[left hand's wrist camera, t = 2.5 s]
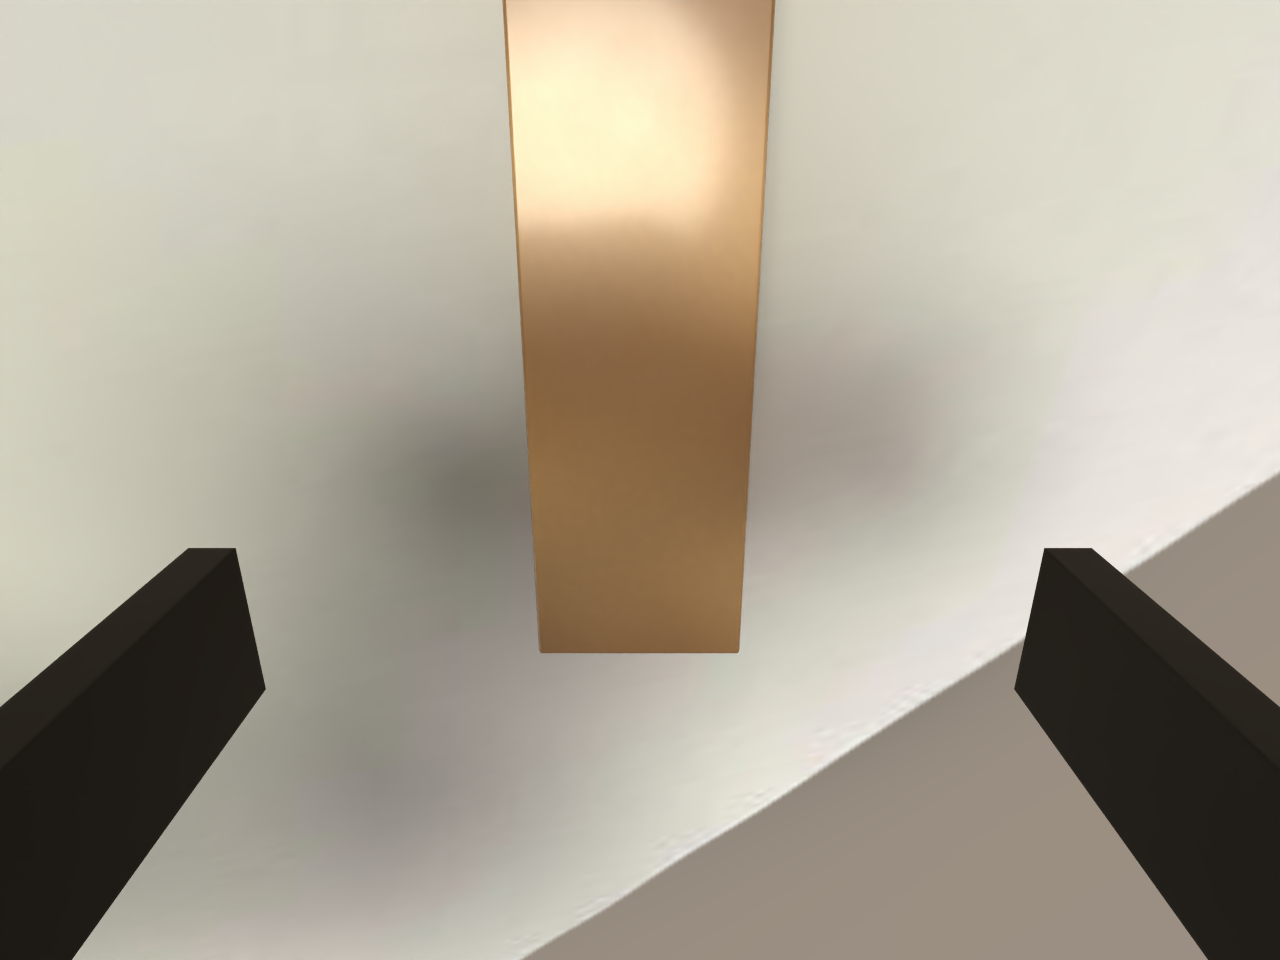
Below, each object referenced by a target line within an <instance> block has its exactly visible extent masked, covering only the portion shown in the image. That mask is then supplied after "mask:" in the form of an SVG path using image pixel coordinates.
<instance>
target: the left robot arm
mask: <svg viewBox="0 0 1280 960" xmlns="http://www.w3.org/2000/svg"><path fill="white" fill-rule="evenodd" d="M265 689H266V688H265V684H264V679H263V674H262V669H261V665H260V660H259V655H258V651H257V646H256V641H255V637H254V632H253V627H252V623H251V618H250V613H249V609H248V604H247V599H246V595H245V590H244V585H243V581H242V576H241V571H240V567H239V562H238V557H237V553H236V548H188V549H187V550H186V551H184V552H183V553H182V554H181V555H180V556H179V557H177V558H176V559H175V560H174V561H173V562H171V563H170V564H169V565H168V566H167V567H166V568H164V569H163V570H162V571H161V572H160V573H158V574H157V575H156V576H155V577H154V578H153V579H151V580H150V581H149V582H148V583H147V584H145V585H144V586H143V587H142V588H141V589H139V590H138V591H137V592H136V593H135V594H134V595H132V596H131V597H130V598H129V599H128V600H126V601H125V602H124V603H123V604H122V605H121V606H119V607H118V608H117V609H116V610H115V611H113V612H112V613H111V614H110V615H109V616H108V617H106V618H105V619H104V620H103V621H102V622H100V623H99V624H98V625H97V626H96V627H95V628H93V629H92V630H91V631H90V632H89V633H87V634H86V635H85V636H84V637H83V638H81V639H80V640H79V641H78V642H77V643H76V644H74V645H73V646H72V647H71V648H70V649H68V650H67V651H66V652H65V653H64V654H63V655H61V656H60V657H59V658H58V659H57V660H55V661H54V662H53V663H52V664H51V665H50V666H48V667H47V668H46V669H45V670H44V671H42V672H41V673H40V674H39V675H38V676H37V677H35V678H34V679H33V680H32V681H31V682H29V683H28V684H27V685H26V686H25V687H24V688H22V689H21V690H20V691H19V692H18V693H16V694H15V695H14V696H13V697H12V698H10V699H9V700H8V701H7V702H6V703H5V704H3V705H2V706H1V707H0V960H72V959H73V957H74V956H75V955H76V953H77V952H78V950H79V949H80V948H81V946H82V945H83V943H84V942H85V941H86V939H87V938H88V937H89V935H90V934H91V932H92V931H93V930H94V928H95V927H96V925H97V924H98V923H99V921H100V920H101V918H102V917H103V916H104V914H105V913H106V911H107V910H108V909H109V907H110V906H111V904H112V903H113V902H114V900H115V899H116V897H117V896H118V895H119V893H120V892H121V890H122V889H123V888H124V886H125V885H126V883H127V882H128V881H129V879H130V878H131V876H132V875H133V874H134V872H135V871H136V869H137V868H138V867H139V865H140V864H141V863H142V861H143V860H144V858H145V857H146V856H147V854H148V853H149V851H150V850H151V849H152V847H153V846H154V844H155V843H156V842H157V840H158V839H159V837H160V836H161V835H162V833H163V832H164V830H165V829H166V828H167V826H168V825H169V823H170V822H171V821H172V819H173V818H174V816H175V815H176V814H177V812H178V811H179V809H180V808H181V807H182V805H183V804H184V802H185V801H186V800H187V798H188V797H189V796H190V794H191V793H192V791H193V790H194V789H195V787H196V786H197V784H198V783H199V782H200V780H201V779H202V777H203V776H204V775H205V773H206V772H207V770H208V769H209V768H210V766H211V765H212V763H213V762H214V761H215V759H216V758H217V756H218V755H219V754H220V752H221V751H222V749H223V748H224V747H225V745H226V744H227V742H228V741H229V740H230V738H231V737H232V735H233V734H234V733H235V731H236V730H237V729H238V727H239V726H240V724H241V723H242V722H243V720H244V719H245V717H246V716H247V715H248V713H249V712H250V710H251V709H252V708H253V706H254V705H255V703H256V702H257V701H258V699H259V698H260V696H261V695H262V694H263V692H264V691H265ZM1014 689H1015V691H1016V692H1017V694H1018V695H1019V696H1020V698H1021V699H1022V701H1023V702H1024V703H1025V705H1026V706H1027V708H1028V709H1029V710H1030V712H1031V713H1032V714H1033V716H1034V717H1035V719H1036V720H1037V721H1038V723H1039V724H1040V726H1041V727H1042V729H1043V730H1044V731H1045V733H1046V734H1047V735H1048V737H1049V738H1050V740H1051V741H1052V742H1053V744H1054V745H1055V747H1056V748H1057V749H1058V751H1059V752H1060V754H1061V755H1062V756H1063V758H1064V759H1065V761H1066V762H1067V763H1068V765H1069V766H1070V768H1071V769H1072V770H1073V772H1074V773H1075V775H1076V776H1077V777H1078V779H1079V780H1080V781H1081V783H1082V784H1083V786H1084V787H1085V788H1086V790H1087V791H1088V793H1089V794H1090V795H1091V797H1092V798H1093V800H1094V801H1095V802H1096V804H1097V805H1098V807H1099V808H1100V809H1101V811H1102V812H1103V814H1104V815H1105V816H1106V818H1107V819H1108V821H1109V822H1110V823H1111V825H1112V826H1113V828H1114V829H1115V830H1116V832H1117V833H1118V835H1119V836H1120V837H1121V839H1122V840H1123V842H1124V843H1125V844H1126V846H1127V847H1128V849H1129V850H1130V851H1131V853H1132V854H1133V856H1134V857H1135V858H1136V860H1137V861H1138V862H1139V864H1140V865H1141V867H1142V868H1143V869H1144V871H1145V872H1146V874H1147V875H1148V876H1149V878H1150V879H1151V881H1152V882H1153V883H1154V885H1155V886H1156V888H1157V889H1158V890H1159V892H1160V893H1161V895H1162V896H1163V897H1164V899H1165V900H1166V902H1167V903H1168V904H1169V906H1170V907H1171V909H1172V910H1173V911H1174V913H1175V914H1176V916H1177V917H1178V918H1179V920H1180V921H1181V923H1182V924H1183V925H1184V927H1185V928H1186V930H1187V931H1188V932H1189V934H1190V935H1191V937H1192V938H1193V939H1194V941H1195V942H1196V943H1197V945H1198V946H1199V948H1200V949H1201V950H1202V952H1203V953H1204V955H1205V956H1206V957H1207V959H1208V960H1280V707H1279V706H1278V705H1277V704H1275V703H1274V702H1273V701H1272V700H1271V699H1269V698H1268V697H1267V696H1266V695H1265V694H1264V693H1262V692H1261V691H1260V690H1259V689H1258V688H1256V687H1255V686H1254V685H1253V684H1252V683H1251V682H1249V681H1248V680H1247V679H1246V678H1245V677H1243V676H1242V675H1241V674H1240V673H1239V672H1238V671H1236V670H1235V669H1234V668H1233V667H1232V666H1230V665H1229V664H1228V663H1227V662H1226V661H1224V660H1223V659H1222V658H1221V657H1220V656H1219V655H1217V654H1216V653H1215V652H1214V651H1213V650H1212V649H1210V648H1209V647H1208V646H1207V645H1206V644H1204V643H1203V642H1202V641H1201V640H1200V639H1198V638H1197V637H1196V636H1195V635H1194V634H1193V633H1191V632H1190V631H1189V630H1188V629H1187V628H1185V627H1184V626H1183V625H1182V624H1181V623H1180V622H1178V621H1177V620H1176V619H1175V618H1174V617H1172V616H1171V615H1170V614H1169V613H1168V612H1167V611H1165V610H1164V609H1163V608H1162V607H1161V606H1159V605H1158V604H1157V603H1156V602H1155V601H1153V600H1152V599H1151V598H1150V597H1149V596H1148V595H1146V594H1145V593H1144V592H1143V591H1142V590H1141V589H1139V588H1138V587H1137V586H1136V585H1135V584H1133V583H1132V582H1131V581H1130V580H1129V579H1127V578H1126V577H1125V576H1124V575H1123V574H1122V573H1120V572H1119V571H1118V570H1117V569H1116V568H1114V567H1113V566H1112V565H1111V564H1110V563H1109V562H1107V561H1106V560H1105V559H1104V558H1103V557H1101V556H1100V555H1099V554H1098V553H1097V552H1096V551H1094V550H1093V549H1092V548H1044V553H1043V557H1042V562H1041V567H1040V571H1039V576H1038V581H1037V585H1036V590H1035V595H1034V599H1033V604H1032V609H1031V613H1030V618H1029V623H1028V627H1027V632H1026V637H1025V641H1024V646H1023V651H1022V655H1021V660H1020V665H1019V670H1018V674H1017V679H1016V684H1015V688H1014Z"/></svg>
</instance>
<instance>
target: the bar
mask: <svg viewBox="0 0 1280 960" xmlns="http://www.w3.org/2000/svg"><path fill="white" fill-rule="evenodd" d="M774 13H775V0H503V16H504V34H505V52H506V70H507V87H508V105H509V123H510V141H511V158H512V176H513V194H514V212H515V229H516V247H517V265H518V283H519V300H520V318H521V336H522V354H523V371H524V389H525V407H526V424H527V442H528V460H529V478H530V495H531V513H532V531H533V549H534V566H535V584H536V602H537V620H538V637H539V651H540V653H738V651H739V644H740V626H741V608H742V590H743V572H744V554H745V536H746V518H747V500H748V482H749V464H750V446H751V428H752V410H753V392H754V374H755V356H756V337H757V319H758V301H759V283H760V265H761V247H762V229H763V211H764V193H765V175H766V157H767V139H768V121H769V103H770V85H771V67H772V49H773V31H774Z"/></svg>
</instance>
